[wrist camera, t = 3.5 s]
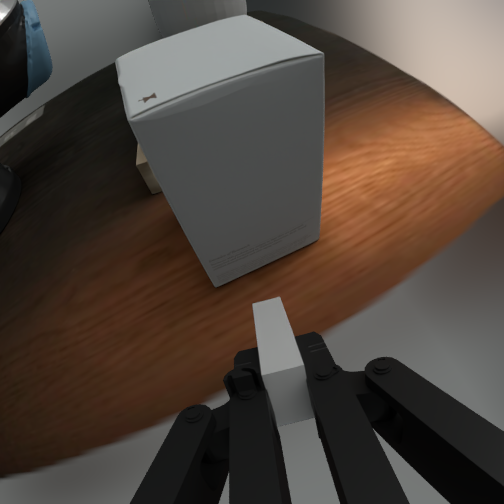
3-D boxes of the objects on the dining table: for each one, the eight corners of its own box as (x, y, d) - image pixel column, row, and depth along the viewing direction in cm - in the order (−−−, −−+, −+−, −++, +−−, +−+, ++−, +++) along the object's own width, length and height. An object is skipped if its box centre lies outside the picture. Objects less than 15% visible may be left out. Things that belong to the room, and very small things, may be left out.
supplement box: (323, 240, 24) (332, 51, 11) (214, 291, 23) (121, 122, 10) (271, 167, 28) (247, 10, 16) (180, 206, 28) (111, 57, 15)
